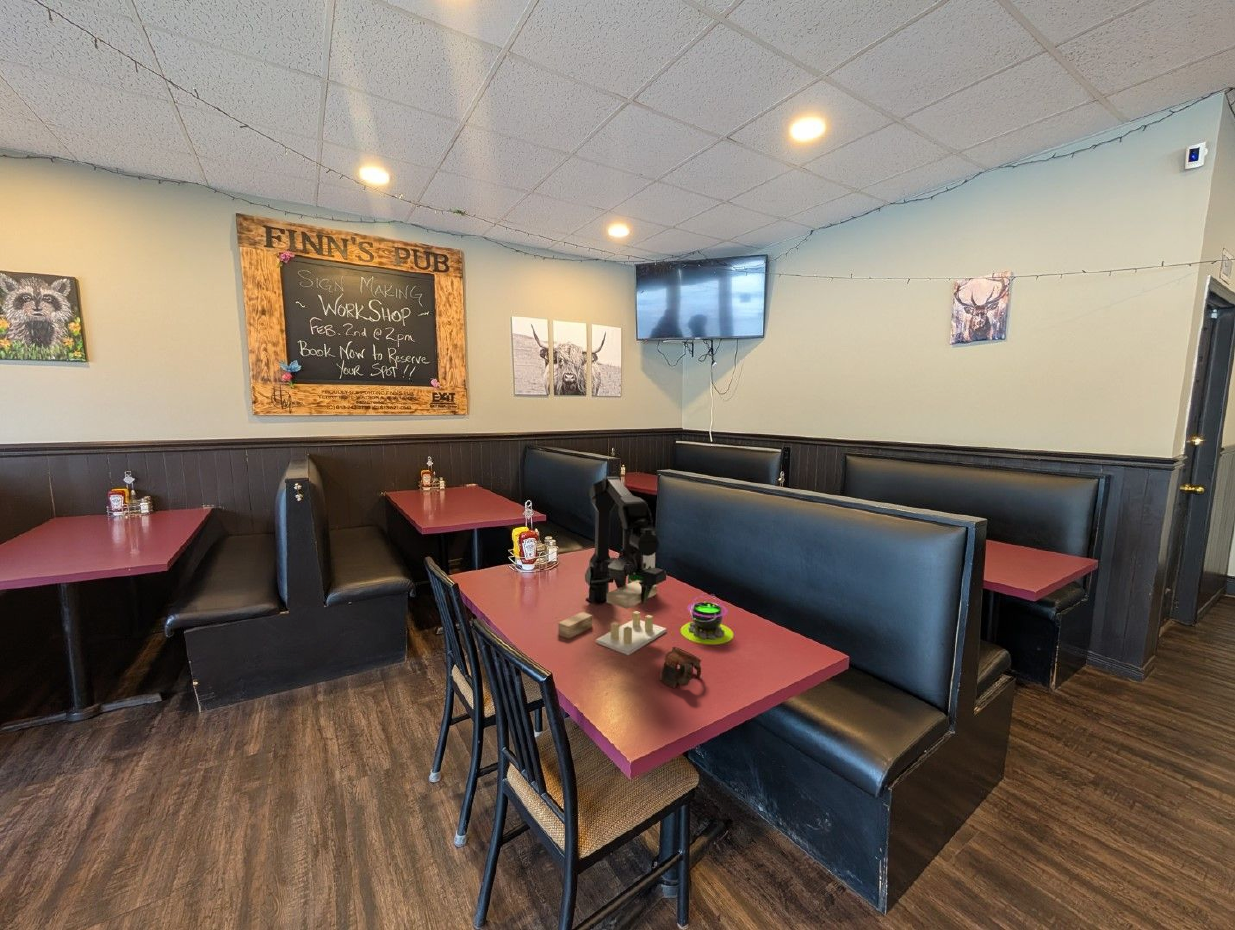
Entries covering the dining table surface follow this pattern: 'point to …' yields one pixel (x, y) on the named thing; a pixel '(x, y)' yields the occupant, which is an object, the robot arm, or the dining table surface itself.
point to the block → (575, 625)
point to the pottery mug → (686, 667)
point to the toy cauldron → (707, 624)
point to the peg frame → (631, 634)
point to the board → (628, 595)
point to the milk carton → (649, 564)
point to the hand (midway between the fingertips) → (632, 600)
